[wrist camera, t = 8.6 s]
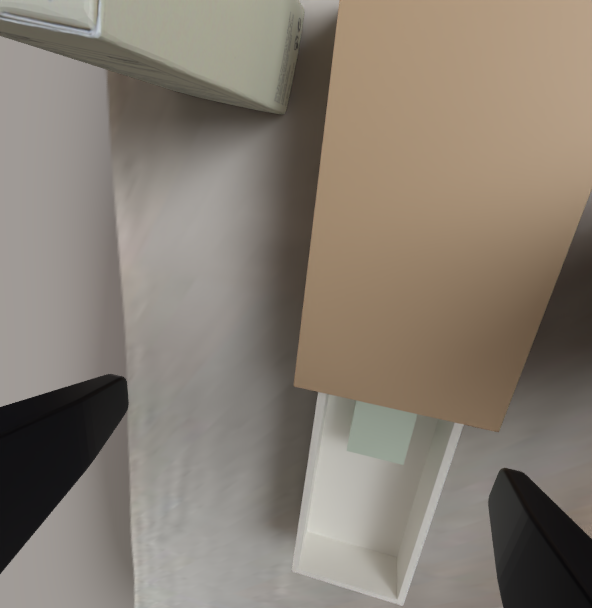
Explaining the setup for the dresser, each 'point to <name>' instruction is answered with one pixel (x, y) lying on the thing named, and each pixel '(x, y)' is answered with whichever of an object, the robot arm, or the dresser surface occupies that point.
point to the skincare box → (174, 43)
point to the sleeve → (444, 199)
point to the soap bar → (380, 432)
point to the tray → (369, 504)
